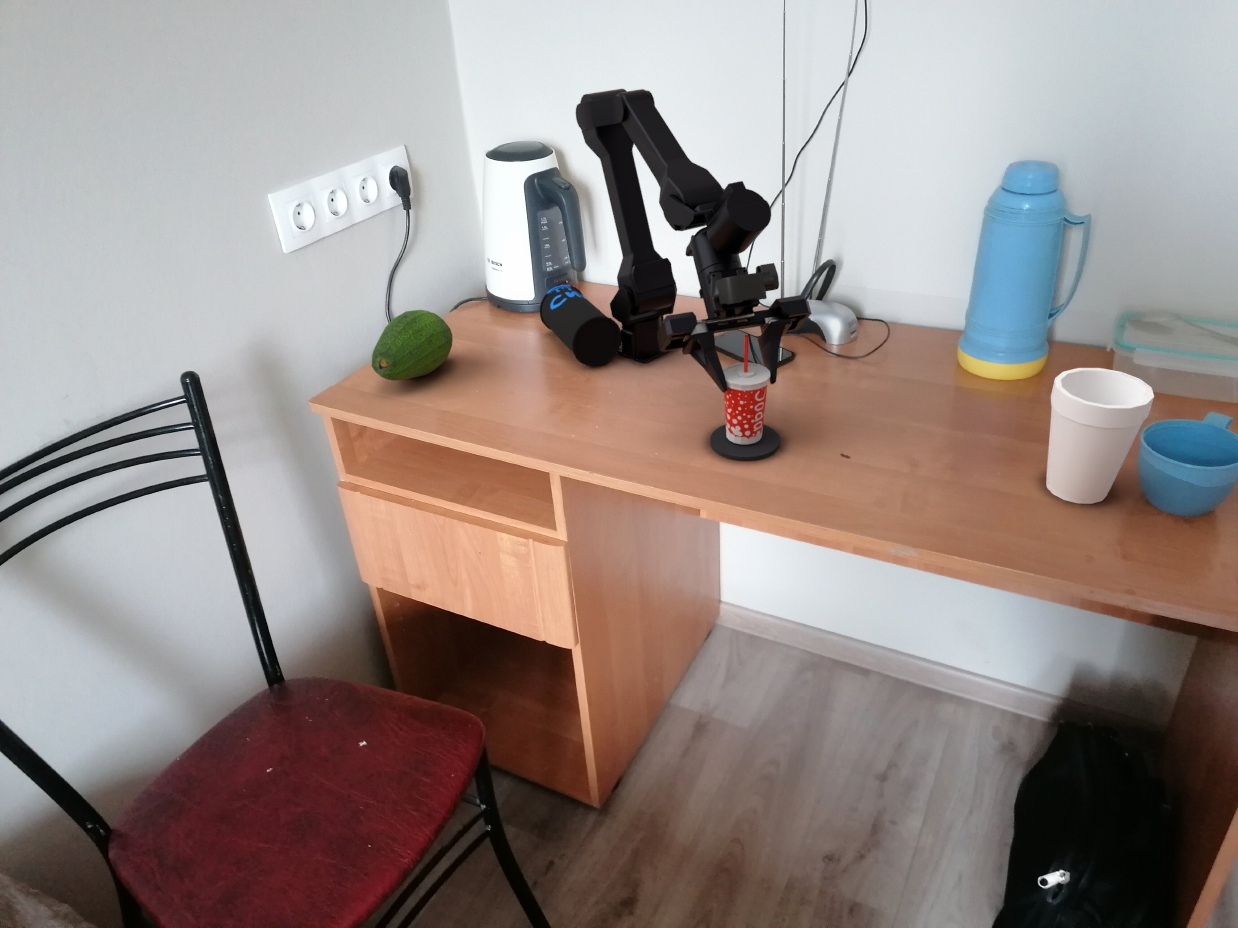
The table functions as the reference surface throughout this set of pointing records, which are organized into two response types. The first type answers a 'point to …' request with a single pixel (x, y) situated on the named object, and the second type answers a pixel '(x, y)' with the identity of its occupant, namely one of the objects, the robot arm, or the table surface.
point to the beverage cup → (745, 399)
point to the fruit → (412, 345)
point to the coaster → (745, 445)
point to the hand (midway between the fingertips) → (749, 387)
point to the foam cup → (1092, 430)
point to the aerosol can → (580, 325)
